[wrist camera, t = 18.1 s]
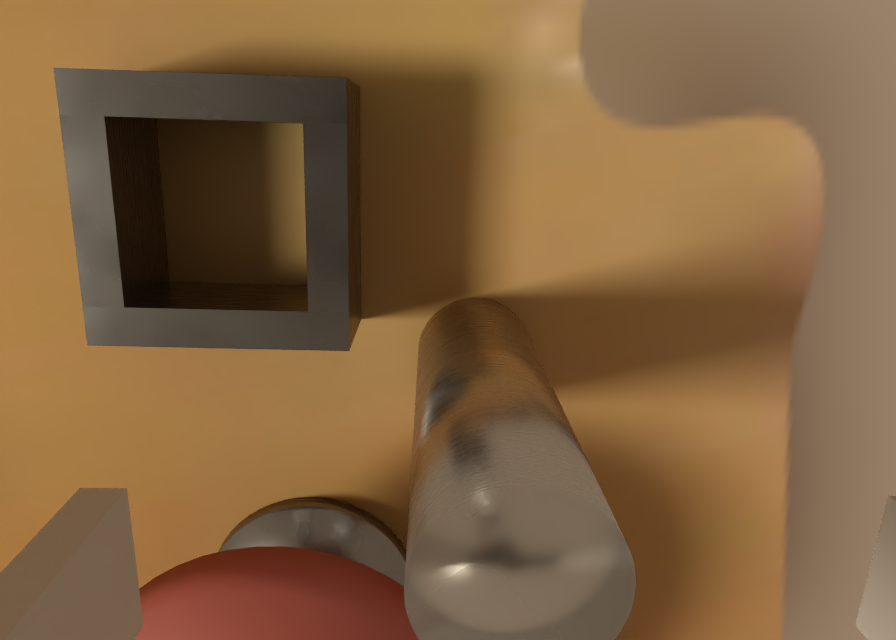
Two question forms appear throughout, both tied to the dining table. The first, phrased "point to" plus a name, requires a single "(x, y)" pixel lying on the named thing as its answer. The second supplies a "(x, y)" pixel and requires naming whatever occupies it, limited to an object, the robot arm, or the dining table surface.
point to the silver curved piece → (323, 533)
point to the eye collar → (142, 220)
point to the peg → (504, 496)
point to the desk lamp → (273, 599)
